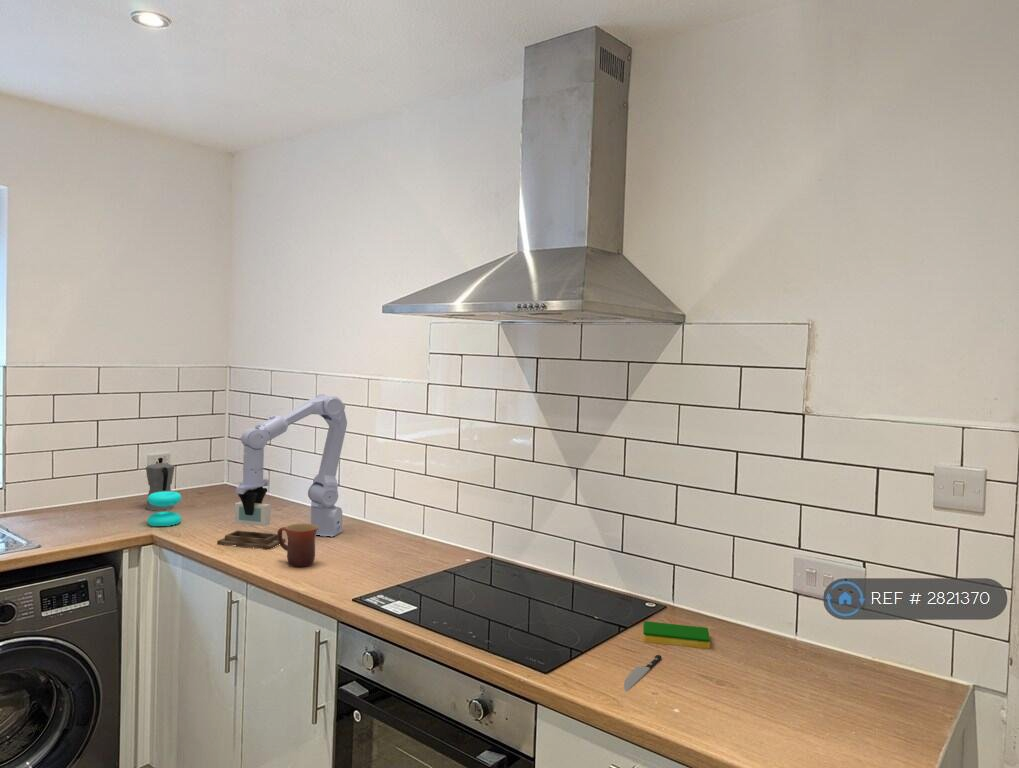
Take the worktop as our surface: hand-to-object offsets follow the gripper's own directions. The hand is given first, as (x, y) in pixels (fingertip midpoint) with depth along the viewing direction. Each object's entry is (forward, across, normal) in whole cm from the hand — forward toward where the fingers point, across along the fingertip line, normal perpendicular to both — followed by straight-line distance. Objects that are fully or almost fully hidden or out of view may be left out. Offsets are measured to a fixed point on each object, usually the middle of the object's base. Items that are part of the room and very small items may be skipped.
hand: (252, 513), depth 223 cm
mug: (+9, +14, +22) cm, 28 cm away
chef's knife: (+10, +57, +117) cm, 130 cm away
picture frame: (+3, 0, 0) cm, 3 cm away
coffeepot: (+9, -29, -53) cm, 61 cm away
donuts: (+9, -11, -38) cm, 41 cm away
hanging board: (+9, 0, 0) cm, 9 cm away
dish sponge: (+10, +37, +124) cm, 130 cm away
